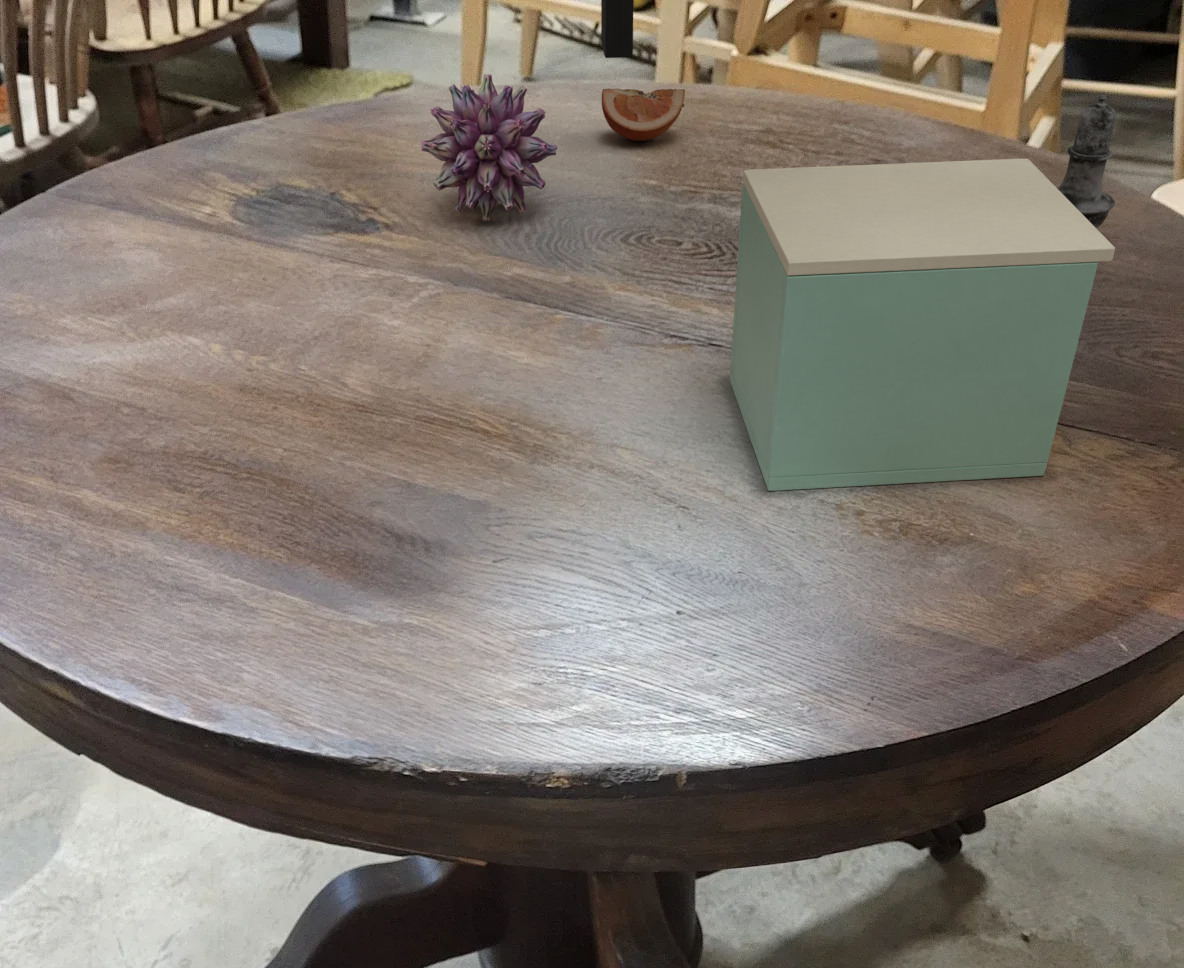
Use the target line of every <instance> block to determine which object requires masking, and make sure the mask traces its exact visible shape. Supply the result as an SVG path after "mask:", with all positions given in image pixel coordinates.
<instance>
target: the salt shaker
mask: <svg viewBox="0 0 1184 968" xmlns="http://www.w3.org/2000/svg"><path fill="white" fill-rule="evenodd" d="M1106 100H1108V98H1107V95H1106V93H1105V92H1104V91H1103V92H1102V93H1101V94H1100V95H1099V96H1098V101H1097V102H1095V103H1092V104H1089V105H1087V106H1086V107H1084V109H1083V110H1082V111H1081V113H1080V115H1079V120H1078V124H1077V128H1076V133H1075V137H1074V142H1073V145H1072V146H1070V147H1068V148H1067V151H1066V152H1067V155H1068V156H1069V159H1068V164H1067V168H1066V173H1065V176H1064V177H1063V180H1062V181H1061V183H1060V186H1058V187H1056V188H1057V189H1058V190H1059V191H1060V192H1061V193H1062V194H1063V195H1064V196H1065V197H1066V198H1067V199H1068V200H1069V201H1070V202H1071V203H1072V204H1073V205H1074V206H1075V207H1076V208H1077V209H1078V210H1079V211H1080V212H1081V213H1082V214H1083V215H1084V216H1085V217H1086V218H1087V220H1088V221H1089V222H1090V223H1091V224H1092V225H1093V226H1094V227H1095V228H1096V229H1098V228H1100V227H1101V226H1102V224H1103V223H1104V222H1105V220H1106V219H1107V218H1108V216H1109V212H1110V211H1111V210H1112V209H1113V208H1114V207H1115V204H1116V201H1115V199H1114V198H1113V197H1112V196H1111V195H1110V194H1108V193H1107V192H1104V190H1103V178H1104V174H1105V169H1106V165H1107V161H1108V160H1109V159H1111V158H1112V156H1113V152H1112V151H1111V150H1110V145H1111V140H1112V136H1113V132H1114V128H1115V124H1116V120H1117V113H1116V111H1115V109H1114V108H1113V107H1112V106H1110V105H1108V103H1107V102H1105V101H1106Z"/></svg>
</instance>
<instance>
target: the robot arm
mask: <svg viewBox="0 0 1184 968" xmlns="http://www.w3.org/2000/svg"><path fill="white" fill-rule="evenodd" d="M634 1H635V0H600V4H601V6H600V7H601V10H600V11H601V12H600V19H601V20H600V22H601V23H600V25H601V26H600V33H601V35H600V44H601V48H602V51H603V55H604V58H605V59H619V58H620V59H622V58H623V59H624V58H625V59H626V58H634V57H633V56H634V55H633V54H634Z"/></svg>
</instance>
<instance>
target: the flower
mask: <svg viewBox="0 0 1184 968" xmlns="http://www.w3.org/2000/svg"><path fill="white" fill-rule="evenodd" d="M513 89H514V88H513V86H510V85H508V84H505V85H504V87H503V90H502V91H501V92H500V93H499V94H498V92H497V89H496V87H495V85H494V83H493V76H492V74H490V73H489V74H488V73H487V74H486V73H485V74H483V81H482V83H481V85H480V87H479V89H478V94H477V93H476V92H475V90H474V89H471V87H470V84H467V85H466V84H464V85H463V86H461V87H460V89H459V88H458V87H457V86H456V84H455V83H452V85H450V86H448V90H449V92H450V94H451V99H452V108H453V110H448V109H443V108H442V107H440V106H436V107H432V108H430V115H432V116H433V117H434V118H435V119H436V121H437V122H438V125H439V127H440V129H442V131H443V133H441V132H440V133H438V134H436V135H435V136H433V137H431V138H430V139H427V140H421V147H420V149H421V152H425V153H429V154H430V155H431V156H433V157H434V158H435V159H437V160H439V161H440V162H441V161H442V162H443V164H442V166H441V168H440V172H439V173H438V176H437V177H436V178H435V179H434V180H433V181H432V183H433V186H434V187H435V190H437V191H438V192H441V191H442V190H445V189H446V188H451V189H452V188H457V202H456V205H455V208H454V210H455V211H458V212H459V213H460V212H461V210H462V209H463V207H464V206H466V207H468V208H469V209H472V211H476V210H477V208H478V205H479V207H480V209H481V212H482V221H484V223H485V222H486V223H487V222H490V221H491V218H492V217H491V216H492V214H493V212H494V210H495V208H496V207H497V204H498V202H499V203H500V204H501V205H502V206H503V207H504V209H505V211H511V209H514V208H515V209H517V211H518V212H519V213H520V214H523V213H524V212H526V211H527V210H528V209H527V206H526V205H525V191H524V187H536V188H538V189H540V190H543V189H544V188H545V185H546V181H545V180H544V179H543V178H542V177H541V175H540V173H539V170H538V169H537V167H536V166H535V165H534V164H537V163H540V162H542V161H543V160H545V159H547V157H550V156H551V157H552V156H556V155H557V150H558V145H556V144H549V143H547V141H545V140H543V139H542V138H539V137H538V136H533V135H534V134H535V132H537V130H538V128H539V127H540V124H541V121H543V120H544V119H545V118H546V111H545V110H544V109H542V108H538V109H536V110H534V111H524V108H525V95H526V93H527V91H528V88H527V87H525V86H524V85H520V86H519V88H518V89H517V90H516V91H514V90H513Z"/></svg>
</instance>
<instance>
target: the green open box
mask: <svg viewBox="0 0 1184 968" xmlns="http://www.w3.org/2000/svg"><path fill="white" fill-rule="evenodd" d="M740 198H741V200H740V215H739V230H738V231H739V232H738V233H739V234H738V247H737V261H736V262H737V263H736V266H737V267H736V277H735V279H736V280H735V294H734V310H733V326H732V342H731V355H730V356H731V357H730V371H729V374H730V375H729V382H730V385H731V388H732V390H733V394H734V397H735V400H736V403H737V405H738V407H739V410H740V411H739V412H740V414H741V417H742V419H743V422H744V425H745V428H746V431H747V434H748V437H749V440H750V443H751V445H752V448H753V451H754V454H755V458H756V460H757V463H758V465H759V469H760V472H761V474H762V477H763V480H764V484H765V486H766V489H767V491H768V492H775V491H793V490H810V489H813V490H814V489H828V488H829V489H831V488H846V487H848V488H849V487H864V486H867V487H868V486H883V485H884V486H885V485H902V484H919V483H937V482H938V483H939V482H955V481H974V480H993V479H994V480H995V479H1010V478H1026V477H1027V478H1029V477H1044V476H1045V474H1046V470H1047V466H1048V462H1049V459H1050V455H1051V451H1052V448H1053V444H1054V439H1055V436H1056V432H1057V428H1058V423H1059V419H1060V416H1061V412H1062V409H1063V403H1064V400H1065V396H1066V391H1067V387H1068V384H1069V380H1070V376H1071V372H1072V368H1073V364H1074V360H1075V356H1076V353H1077V348H1078V344H1079V340H1080V336H1081V333H1082V329H1083V325H1084V321H1085V317H1086V313H1087V308H1088V305H1089V300H1090V297H1091V293H1092V289H1093V285H1094V283H1095V277H1096V273H1097V270H1098V266H1099V262H1082V263H1060V264H1037V265H1015V266H993V267H970V268H948V269H926V270H903V271H881V272H859V273H836V274H814V275H792V276H788V275H787V273H786V271H785V269H784V267H783V265H782V263H781V261H780V258H779V256H778V254H777V252H776V250H775V248H774V246H773V244H772V242H771V240H770V238H769V235H768V233H767V231H766V229H765V227H764V225H763V223H762V221H761V219H760V217H759V215H758V212H757V210H756V208H755V206H754V204H753V202H752V200H751V198H750V196H749V194H748V192H747V189H746V187H745V185H744V183H743V182H742V184H741V197H740Z"/></svg>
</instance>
